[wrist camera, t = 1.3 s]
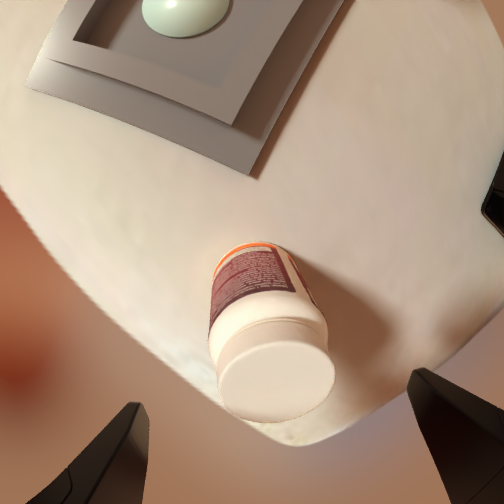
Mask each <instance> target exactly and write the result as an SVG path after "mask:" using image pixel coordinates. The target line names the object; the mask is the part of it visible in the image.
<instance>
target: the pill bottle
mask: <svg viewBox="0 0 504 504" xmlns="http://www.w3.org/2000/svg"><path fill="white" fill-rule="evenodd" d="M327 342H328V328H327V323H326V320H325V317H324V315H323V313H322V312H321V310H320V309H319V307H318V305H317V303H316V301H315V300H314V298H313V296H312V294H311V292H310V290H309V288H308V287H307V284H306V283H305V281H304V279H303V278H302V276H301V274H300V272H299V270H298V268H297V266H296V265H295V263H294V261H293V260H292V258H291V257H290V256H289V255H288V254H287V253H286V252H285V251H284V250H283V249H281V248H279V247H278V246H276V245H274V244H271V243H267V242H256V241H254V242H248V243H244V244H241V245H238V246H236V247H234V248H233V249H231V250H230V251H228V252H227V253H226V254H225V255H224V256H223V257H222V258H221V259H220V261H219V262H218V264H217V266H216V268H215V271H214V274H213V280H212V297H211V310H210V327H209V335H208V346H209V353H210V357H211V360H212V362H213V364H214V366H215V368H216V371H217V388H218V394H219V397H220V399H221V401H222V403H223V405H224V406H225V407H226V408H227V409H228V410H229V411H230V412H231V413H233V414H235V415H236V416H238V417H240V418H243V419H245V420H249V421H253V422H259V423H277V422H283V421H288V420H291V419H295V418H297V417H300V416H302V415H304V414H306V413H308V412H310V411H312V410H313V409H315V408H316V407H317V406H318V405H320V404H321V403H322V402H323V401H324V400H325V399H326V398H327V397H328V395H329V393H330V392H331V390H332V388H333V385H334V382H335V377H336V371H335V365H334V362H333V360H332V357H331V355H330V353H329V350H328V348H327Z"/></svg>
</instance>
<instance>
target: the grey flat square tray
mask: <svg viewBox="0 0 504 504" xmlns="http://www.w3.org/2000/svg"><path fill="white" fill-rule="evenodd" d="M343 1H344V0H68V1H67V3H66V4H65V6H64V8H63V9H62V11H61V13H60V14H59V16H58V18H57V20H56V21H55V23H54V25H53V27H52V29H51V30H50V32H49V34H48V36H47V38H46V40H45V42H44V44H43V46H42V48H41V50H40V52H39V54H38V56H37V58H36V61H35V63H34V65H33V67H32V70H31V72H30V74H29V77H28V79H27V81H26V84H25V87H28V88H31V89H34V90H37V91H40V92H43V93H46V94H49V95H52V96H55V97H58V98H61V99H64V100H67V101H70V102H73V103H76V104H79V105H81V106H84V107H87V108H90V109H92V110H95V111H98V112H100V113H103V114H106V115H108V116H111V117H114V118H116V119H119V120H121V121H124V122H126V123H129V124H131V125H134V126H136V127H139V128H141V129H144V130H146V131H149V132H151V133H154V134H156V135H158V136H161V137H163V138H166V139H168V140H170V141H173V142H175V143H177V144H180V145H182V146H184V147H186V148H189V149H191V150H193V151H196V152H198V153H200V154H202V155H204V156H207V157H209V158H211V159H213V160H215V161H218V162H220V163H222V164H224V165H226V166H228V167H231V168H233V169H235V170H237V171H239V172H241V173H243V174H245V175H247V176H248V175H249V173H250V171H251V169H252V167H253V165H254V163H255V161H256V159H257V157H258V155H259V153H260V151H261V149H262V147H263V145H264V143H265V141H266V140H267V138H268V136H269V134H270V132H271V130H272V128H273V126H274V124H275V122H276V121H277V119H278V117H279V115H280V113H281V111H282V109H283V107H284V106H285V104H286V102H287V100H288V98H289V96H290V94H291V93H292V91H293V89H294V87H295V85H296V83H297V82H298V80H299V78H300V76H301V74H302V73H303V71H304V69H305V67H306V65H307V64H308V62H309V60H310V58H311V56H312V55H313V53H314V51H315V49H316V48H317V46H318V44H319V42H320V41H321V39H322V37H323V35H324V34H325V32H326V30H327V28H328V27H329V25H330V23H331V22H332V20H333V18H334V16H335V15H336V13H337V11H338V10H339V8H340V6H341V5H342V3H343Z"/></svg>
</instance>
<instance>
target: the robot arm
mask: <svg viewBox="0 0 504 504" xmlns="http://www.w3.org/2000/svg"><path fill="white" fill-rule="evenodd" d="M487 208H488V209H487ZM481 211H482V213H483V215H484V216H485V217H486V218H487V219H488V220H489V221H490V222H491V223H492V224H493V225H494V226H495V227H496V228H497V230H498V231H499V232H500V233H501V234H502V235H503V236H504V152H503V155H502V158H501V161H500V163H499V166H498V168H497V171H496V173H495V176H494V178H493V181H492V183H491V186H490V188H489V190H488V193H487V195H486V197H485V199H484V202H483V204H482V207H481ZM407 393H408V396H409V399H410V402H411V404H412V408H413V411H414V414H415V417H416V420H417V423H418V426H419V428H420V430H421V432H422V435H423V437H424V439H425V441H426V444H427V446H428V448H429V451H430V453H431V455H432V457H433V460H434V462H435V464H436V467H437V469H438V471H439V474H440V477H441V479H442V481H443V484H444V486H445V489H446V491H447V494H448V497H449V499H450V502H451V504H504V410H502V409H500V408H497V407H496V406H494V405H493V404H491V403H489V402H487V401H485V400H483V399H481V398H479V397H478V396H476V395H474V394H472V393H470V392H468V391H466V390H465V389H463V388H461V387H459V386H457V385H455V384H453V383H451V382H450V381H448V380H446V379H444V378H442V377H441V376H439V375H437V374H435V373H433V372H431V371H430V370H428V369H426V368H423V367H422V368H418V369H415V370H413V371H412V373H411V376H410V379H409V382H408V385H407ZM148 445H149V418H148V415H147V413H146V411H145V409H144V406H143V404H142V403H141V402H129V403H127V405H126V406H125V407H124V408H123V409H122V410H121V411H120V412H119V413H118V414H117V415H116V416H115V417H114V418H113V419H112V420H111V422H110V423H109V424H108V425H107V426H106V427H105V428H104V429H103V430H102V431H101V432H100V433H99V434H98V435H97V436H96V437H95V438H94V439H93V440H92V441H91V443H90V444H89V445H88V446H87V447H86V448H85V449H84V450H83V451H82V452H81V453H80V454H79V455H78V456H77V457H76V458H75V459H74V460H73V461H72V463H70V464H69V465H68V468H65V469H64V471H63V472H62V473H61V474H60V475H59V476H58V477H57V478H56V479H55V480H54V481H52V482H51V483H50V484H49V485H48V486H47V487H46V488H45V489H43V490H42V491H41V492H40V493H38V494H37V495H36V496H35V497H33V498H32V499H31V500H30V501H28V502H27V503H26V504H142V499H143V492H144V485H145V478H146V472H147V464H148Z"/></svg>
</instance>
